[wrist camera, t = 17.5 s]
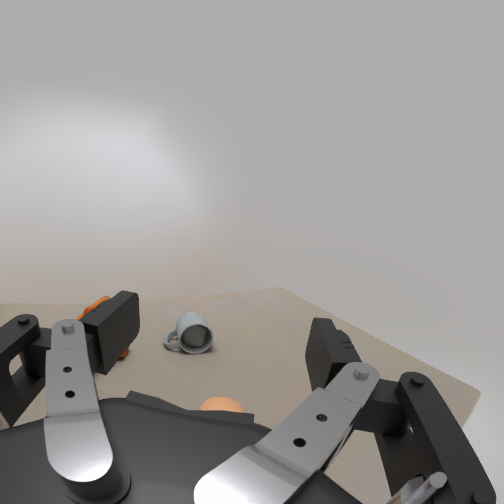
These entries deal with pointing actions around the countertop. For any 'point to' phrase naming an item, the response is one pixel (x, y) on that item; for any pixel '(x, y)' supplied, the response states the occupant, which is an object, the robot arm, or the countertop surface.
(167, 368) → the countertop surface
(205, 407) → the cylinder
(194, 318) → the ceramic mug
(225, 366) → the countertop surface
